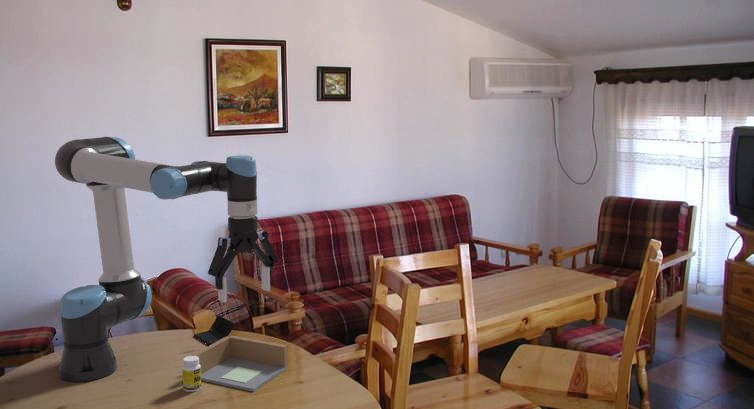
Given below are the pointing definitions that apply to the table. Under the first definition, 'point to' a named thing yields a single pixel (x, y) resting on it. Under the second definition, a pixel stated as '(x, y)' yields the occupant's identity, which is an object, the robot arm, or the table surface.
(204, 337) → the handheld gaming console
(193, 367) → the supplement bottle
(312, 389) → the table surface
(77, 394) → the table surface
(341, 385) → the table surface
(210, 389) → the table surface
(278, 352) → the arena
